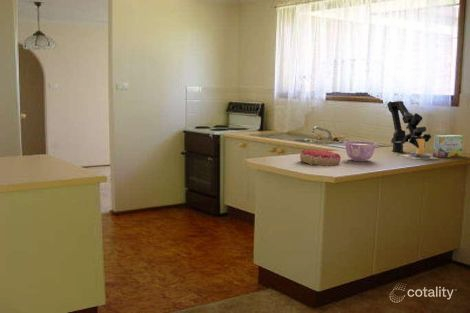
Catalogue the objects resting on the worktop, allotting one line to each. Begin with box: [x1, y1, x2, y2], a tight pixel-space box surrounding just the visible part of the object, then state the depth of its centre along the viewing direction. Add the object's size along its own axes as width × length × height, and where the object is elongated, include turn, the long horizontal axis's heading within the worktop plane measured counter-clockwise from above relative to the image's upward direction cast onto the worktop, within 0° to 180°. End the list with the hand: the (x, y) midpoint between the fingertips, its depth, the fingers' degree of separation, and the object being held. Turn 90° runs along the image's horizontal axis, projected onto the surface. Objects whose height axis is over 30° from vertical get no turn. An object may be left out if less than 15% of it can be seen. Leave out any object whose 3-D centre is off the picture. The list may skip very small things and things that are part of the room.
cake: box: [299, 148, 341, 166], centre depth 326 cm, size 25×25×8 cm
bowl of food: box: [344, 140, 377, 162], centre depth 338 cm, size 20×20×12 cm
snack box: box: [432, 134, 464, 158], centre depth 364 cm, size 21×6×15 cm, turn 112°
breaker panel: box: [400, 151, 439, 161], centre depth 357 cm, size 18×17×4 cm
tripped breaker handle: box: [415, 139, 426, 154], centre depth 355 cm, size 3×4×10 cm
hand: (421, 147), depth 354 cm, fingers closed on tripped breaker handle, 4 cm apart
